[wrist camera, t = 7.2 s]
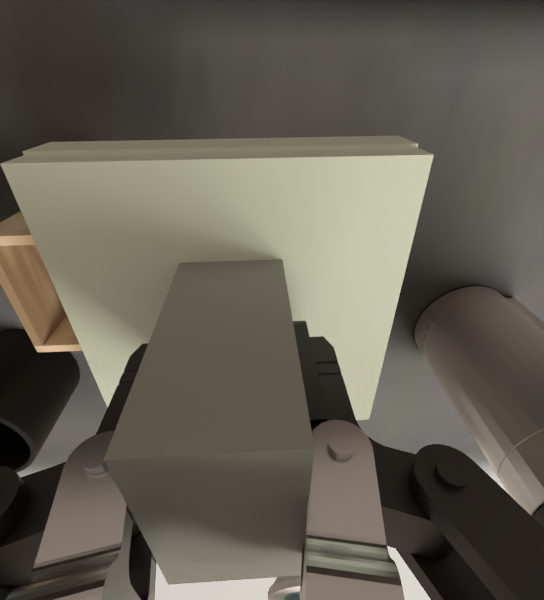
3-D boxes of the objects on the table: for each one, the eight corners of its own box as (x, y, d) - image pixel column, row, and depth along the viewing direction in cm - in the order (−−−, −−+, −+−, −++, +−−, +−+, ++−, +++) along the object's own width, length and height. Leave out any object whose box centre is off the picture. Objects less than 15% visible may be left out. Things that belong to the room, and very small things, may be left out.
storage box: (160, 197, 25) (132, 232, 20) (179, 295, 30) (162, 347, 25) (39, 199, 25) (-25, 236, 19) (79, 299, 30) (37, 352, 24)
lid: (401, 135, 10) (717, 260, 3) (355, 377, 16) (434, 603, 9) (47, 142, 10) (-446, 300, 3) (134, 387, 16) (42, 632, 9)
